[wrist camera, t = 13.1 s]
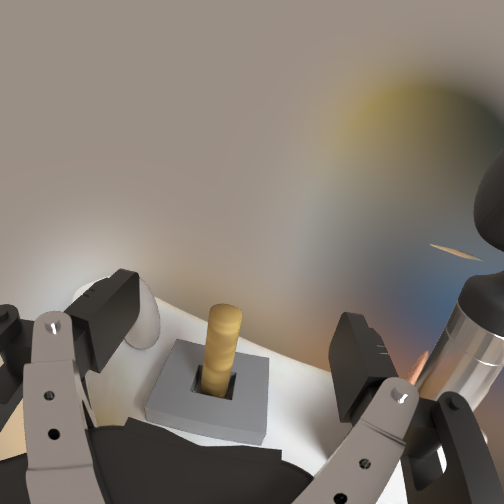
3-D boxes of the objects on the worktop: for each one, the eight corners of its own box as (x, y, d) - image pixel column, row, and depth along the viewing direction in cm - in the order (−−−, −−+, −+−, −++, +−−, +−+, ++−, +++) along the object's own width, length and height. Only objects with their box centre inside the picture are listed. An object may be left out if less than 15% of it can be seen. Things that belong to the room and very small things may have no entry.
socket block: (265, 371, 35) (269, 358, 35) (260, 445, 24) (266, 433, 23) (176, 353, 35) (176, 338, 35) (146, 420, 24) (144, 406, 23)
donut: (165, 359, 34) (167, 293, 31) (143, 368, 31) (140, 300, 28) (129, 319, 40) (128, 259, 36) (110, 325, 37) (106, 263, 34)
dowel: (227, 389, 31) (244, 307, 27) (223, 408, 28) (240, 324, 24) (202, 384, 31) (213, 301, 27) (197, 402, 28) (206, 317, 24)
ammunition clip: (377, 415, 29) (422, 343, 25) (388, 422, 28) (436, 350, 24) (332, 466, 22) (388, 394, 18) (345, 475, 21) (406, 405, 17)
